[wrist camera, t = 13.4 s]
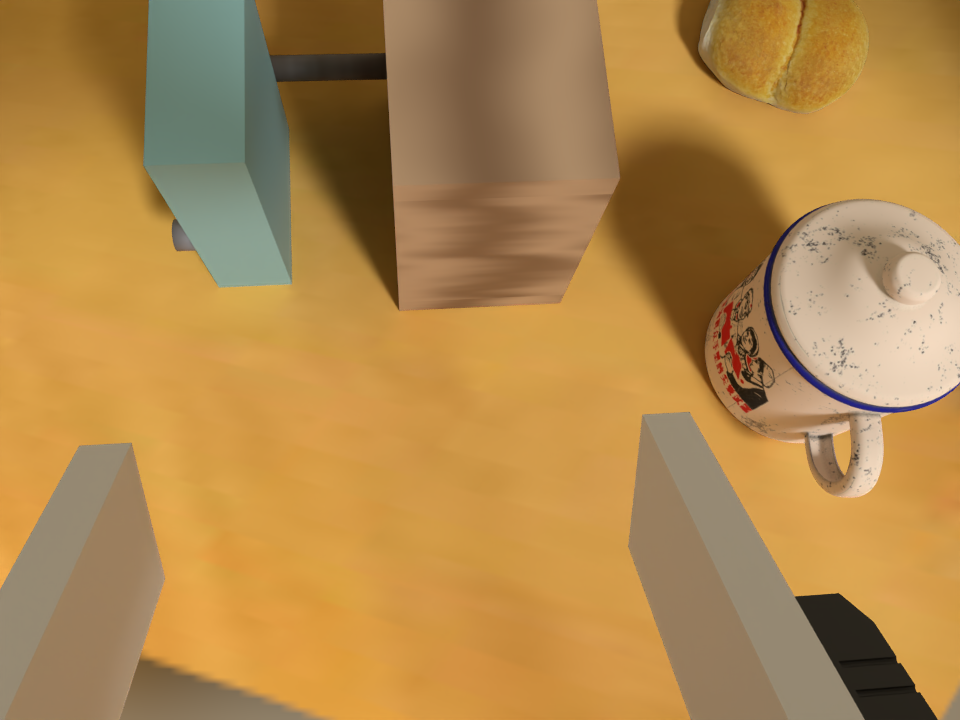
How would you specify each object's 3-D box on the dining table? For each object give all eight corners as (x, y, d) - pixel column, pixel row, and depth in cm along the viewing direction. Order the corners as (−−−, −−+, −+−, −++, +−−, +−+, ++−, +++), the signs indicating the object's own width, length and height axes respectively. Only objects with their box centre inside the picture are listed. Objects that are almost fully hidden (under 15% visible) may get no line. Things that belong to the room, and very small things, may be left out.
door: (289, 128, 44) (244, -40, 32) (292, 284, 42) (244, 162, 30) (200, 131, 44) (122, -38, 32) (198, 288, 41) (113, 166, 30)
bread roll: (839, 136, 47) (877, 94, 43) (683, 87, 47) (707, 41, 43) (863, 16, 49) (902, -34, 45) (715, -30, 49) (740, -84, 45)
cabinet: (537, 93, 46) (583, -99, 33) (559, 303, 42) (620, 178, 30) (263, 99, 44) (203, -98, 32) (264, 316, 41) (199, 192, 29)
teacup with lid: (693, 270, 43) (790, 155, 32) (865, 280, 44) (1018, 170, 33) (703, 506, 40) (814, 469, 29) (889, 513, 41) (1069, 480, 30)
